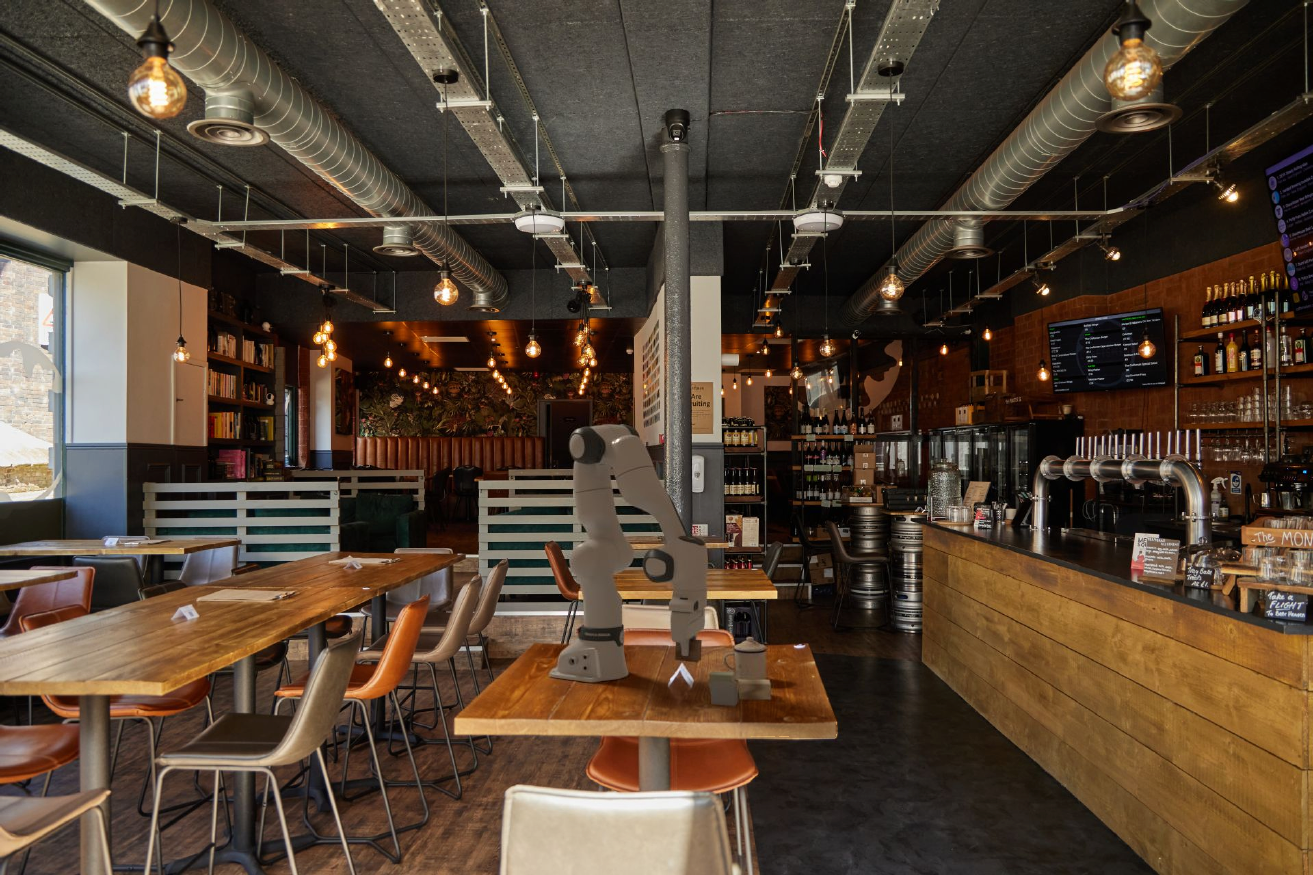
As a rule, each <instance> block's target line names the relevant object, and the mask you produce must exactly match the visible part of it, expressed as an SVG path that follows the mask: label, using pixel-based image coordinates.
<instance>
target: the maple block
mask: <svg viewBox="0 0 1313 875" xmlns="http://www.w3.org/2000/svg"><path fill="white" fill-rule="evenodd" d="M737 682H738V700H772V684H771V681H770V679H766V680H745V679H738V681H737Z"/></svg>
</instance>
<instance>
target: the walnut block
mask: <svg viewBox="0 0 1313 875" xmlns="http://www.w3.org/2000/svg"><path fill="white" fill-rule="evenodd" d="M702 642H703V640H702V639H697V638H696V639H690V641H689V648H690V654H689V655H688V656H683V655H682V648H681V644H680V643H679V642H675V648H674V649H675V653H674V655H675V656H674V657H675V658H674V660H675V661H680V662H691V663H699V662H700V661H701V660H702V648H703V647H702Z"/></svg>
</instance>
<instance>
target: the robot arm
mask: <svg viewBox="0 0 1313 875" xmlns="http://www.w3.org/2000/svg"><path fill="white" fill-rule="evenodd" d="M568 452H569V454H570V456H571V458H572V459H573V460H574V462H573V470H572V471H573V474H572V475H573V476H572V477H573V480H572V481H573V491H574V500H575V508H576V512H577V513H576V514H577V519H578V521H579V523H580V524H581V525H582V526H583V527H584V529H585V531H586V534H587V537H588V540H585V541H583V542H581V543H579V544H578V545H576V546H575V547H574V548H573V549H572V550H571V551H570V554H569V559H568V560H569V566H570V570H571V571H572V572H573V574H574V575H575V576H576V577H577V579H578V582H579V586H580V590H581V593H582V595H581V596H582V600H583V624H581V626H579V627H578V628H576V629H575V634H577V638H576V639H575V640H573V642H571V643H570V644H569V645H568V646H567V647H565V648H564V649H562V651H561V652H560V654H559V656H558V659H557V664H556V665H557V666H556V667H554V668H552V669H550V671H549V677H550V678H556V679H563V680H564V679H565V680H571V681H577V682H579V681H580V682H586V683H598V682H602V681H611V680H612V681H614V680H619V679H622V678H626V677H627V676H628V675H629V671H628V667H627V663H626V659H625V658H626V657H625V652H624V651H625V650H624V644H625V625H624V624H623V597H622V595H621V594H620V592H619V591H618V589H617V586H616V583H615V578H614V575H617V574H620V573H622V572H623V571H625V570H626V569H628V568H629V566H631V564H632V563H633V561H634V556H635V552H634V548H633V546H632V544H631V542H630V541H629V540H627V538H626V537H625V534H624V531H623V529H622V527H621V525H620V524H621V523H620V521H619V519H618V516H617V512H616V504H615V498H614V491H613V484H612V478H611V469H612V470H613V474H614V478H615V480H616V485H617V488H618V490H619V493H620V495H621V497H622V498H623V500H624V501H625V502H626V503H627V504H629V505H630V506H633V507H634V508H637V509H639V510H642V511H645V512H646V513H648V514H650V515H651V516H652V517H654V519H655V520H656V521H657V523H658V524H659V527H660V529H661V531H662V534H663V536H664V538H665V541H666V542H667V544H664V545H660V546H656V547H653V548H651V549H649V550H647V551H646V553H645V555H644V556H643V558H642V559H643V560H642V569H643V570H642V571H643V573H644V575H645V577H646V578H647V580H649V581H650V582H651V583H655V584H667V583H668V584H669V583H671V584H672V586H673V587H672V597H671V598H670V600H669V603H668V610H669V611H670V612H671V613H670V617H669V618H670V619H669V620H670V621H669V622H670V637H671V638H670V639H671V640H672V642H673V643H676V642H679V643H680V644H681V648H682V655H683V656H688V655H689V654H690V648H689V641H690V639H696V640H697V635H698V633H700V632H701V631H703V630H704V629H705V625H706V608H707V607H708V606H707V604H708V603H707V602H708V601H707V599H708V585H707V576H708V572H709V570H708V567H709V558H708V548H707V545H706V542H705V541H704V540H703V539H701V538H699V537H696V536H690V535H689V534H688V532H687V530H686V527H685V525H684V523H683V520H682V518H681V516H680V514H679V511H678V509H677V507H676V505H675V503H674V501H673V499H672V498H671V496H670V495H669V493H668V492H667V491H666V489H665V488H664V487H663V484H662V483H661V481H660V479H659V477H658V474H657V472H656V469H655V466H654V463H653V460H652V458H651V455H650V454H649V451H648V449H647V447H646V445H645V443H644V442H643V440H642V439H641V437H640V434H639V432H638V430H637V429H636V428H635V427H633V426H632V425H631V426H630V425H627V424H610V423H609V424H601V425H593V426H583V427H580V428H579V427H578V428H576V429H575V430H574V431H573V432H572V433H571V435H570V437H569V440H568Z"/></svg>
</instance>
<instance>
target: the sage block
mask: <svg viewBox="0 0 1313 875" xmlns="http://www.w3.org/2000/svg"><path fill="white" fill-rule="evenodd" d="M708 676H709V694H711V684H712V683H713V682H714V681H723V682H736V681H735V680H736V679H735V672H733V671H731V672H729V671H711V672H710V673H709V674H708Z"/></svg>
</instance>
